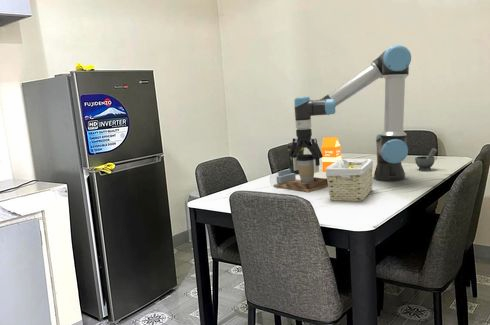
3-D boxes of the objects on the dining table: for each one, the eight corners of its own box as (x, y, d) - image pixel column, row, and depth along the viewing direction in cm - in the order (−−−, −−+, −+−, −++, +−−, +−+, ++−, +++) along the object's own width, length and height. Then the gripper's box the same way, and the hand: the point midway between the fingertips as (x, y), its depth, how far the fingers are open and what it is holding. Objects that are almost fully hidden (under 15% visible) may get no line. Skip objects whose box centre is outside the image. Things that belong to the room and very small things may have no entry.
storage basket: (363, 202, 176) (362, 167, 174) (325, 201, 183) (323, 167, 181) (374, 189, 197) (373, 158, 195) (340, 189, 204) (338, 158, 202)
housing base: (330, 186, 212) (329, 178, 211) (308, 192, 202) (308, 184, 201) (295, 181, 230) (294, 174, 230) (273, 187, 220) (273, 180, 220)
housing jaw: (295, 180, 226) (295, 168, 225) (280, 183, 219) (280, 172, 218) (291, 179, 229) (290, 168, 228) (276, 183, 222) (276, 171, 221)
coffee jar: (307, 171, 256) (305, 141, 253) (302, 174, 249) (300, 142, 246) (292, 171, 260) (290, 141, 257) (287, 174, 253) (285, 143, 251)
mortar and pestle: (413, 171, 231) (412, 149, 230) (417, 168, 239) (416, 147, 237) (435, 171, 225) (435, 149, 223) (439, 168, 233) (438, 147, 231)
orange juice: (336, 172, 247) (334, 137, 244) (322, 171, 253) (320, 138, 250) (341, 169, 253) (340, 136, 250) (328, 169, 259) (326, 136, 256)
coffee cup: (316, 186, 207) (314, 156, 205) (297, 187, 209) (295, 157, 207) (317, 182, 216) (315, 153, 214) (298, 183, 218) (296, 154, 216)
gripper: (280, 129, 216) (283, 170, 219) (318, 129, 197) (320, 174, 200) (290, 127, 221) (293, 168, 224) (328, 127, 201) (330, 171, 205)
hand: (306, 171), depth 212 cm, fingers open, 13 cm apart
